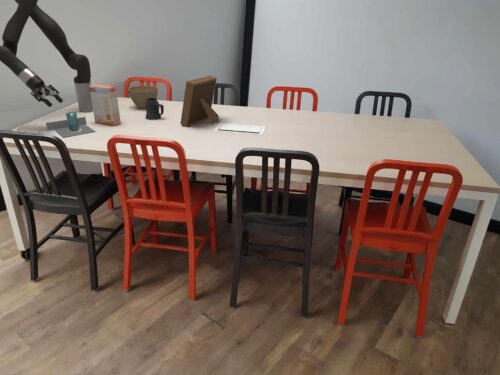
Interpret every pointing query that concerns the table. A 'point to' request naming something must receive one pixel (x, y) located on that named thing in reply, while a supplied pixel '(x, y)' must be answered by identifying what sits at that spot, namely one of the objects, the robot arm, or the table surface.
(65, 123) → the low wall
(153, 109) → the mug
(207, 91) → the photo frame
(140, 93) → the flower pot
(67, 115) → the tin
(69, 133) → the mat
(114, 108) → the cracker box
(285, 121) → the table surface
